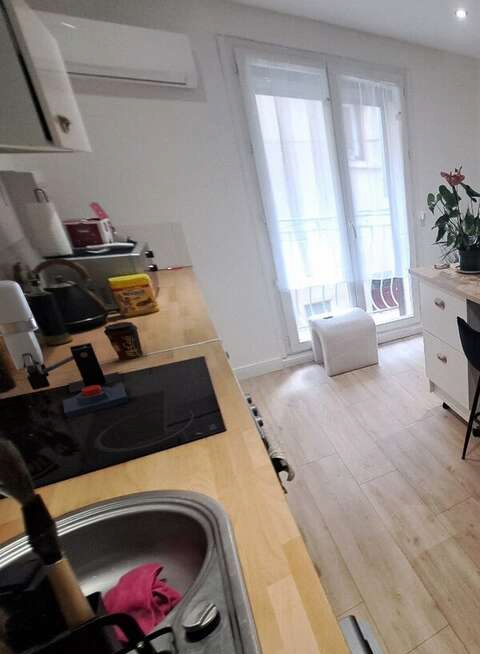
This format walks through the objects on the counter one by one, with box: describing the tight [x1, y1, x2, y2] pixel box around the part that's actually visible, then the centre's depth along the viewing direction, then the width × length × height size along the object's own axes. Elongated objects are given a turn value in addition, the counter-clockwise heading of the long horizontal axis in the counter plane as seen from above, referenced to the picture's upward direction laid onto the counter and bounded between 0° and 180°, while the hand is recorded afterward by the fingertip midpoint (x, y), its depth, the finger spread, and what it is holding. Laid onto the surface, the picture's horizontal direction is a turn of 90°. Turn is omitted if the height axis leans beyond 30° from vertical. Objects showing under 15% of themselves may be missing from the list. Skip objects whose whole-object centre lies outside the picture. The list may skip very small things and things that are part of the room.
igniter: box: [62, 384, 130, 419], centre depth 114 cm, size 12×10×4 cm
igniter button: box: [80, 385, 102, 396], centre depth 113 cm, size 4×4×2 cm
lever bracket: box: [68, 342, 123, 394], centre depth 123 cm, size 11×9×13 cm
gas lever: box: [42, 346, 86, 373], centre depth 119 cm, size 13×5×2 cm, turn 140°
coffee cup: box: [103, 321, 144, 362], centre depth 142 cm, size 9×8×13 cm
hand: (41, 382), depth 117 cm, fingers open, 9 cm apart
